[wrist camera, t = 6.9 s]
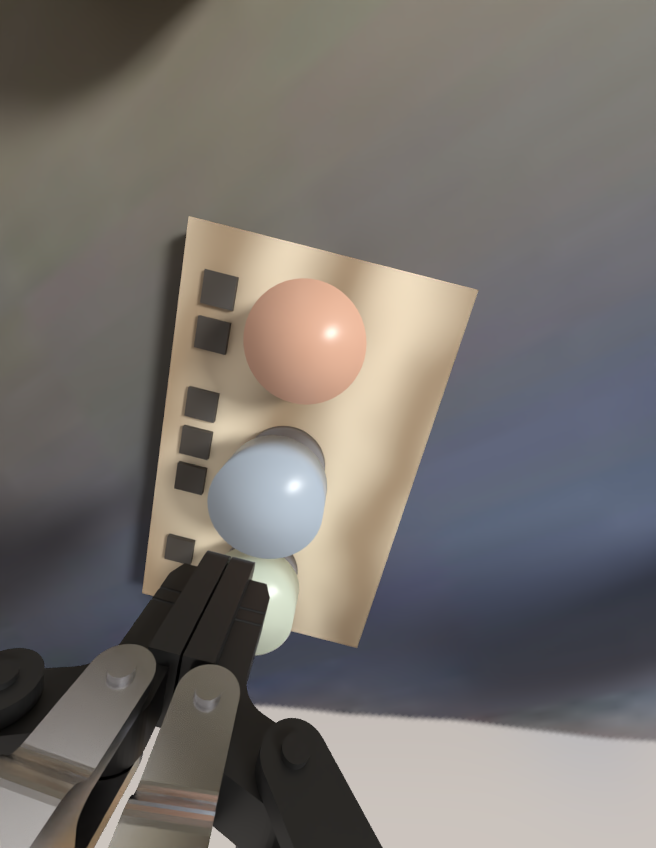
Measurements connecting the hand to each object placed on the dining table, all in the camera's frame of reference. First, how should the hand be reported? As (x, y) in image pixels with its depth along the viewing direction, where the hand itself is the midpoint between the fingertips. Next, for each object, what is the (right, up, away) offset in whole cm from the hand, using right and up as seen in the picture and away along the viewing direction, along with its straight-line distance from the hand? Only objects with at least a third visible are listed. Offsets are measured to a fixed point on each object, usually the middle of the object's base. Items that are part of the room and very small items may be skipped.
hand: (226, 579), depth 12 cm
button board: (+1, +3, +11) cm, 12 cm away
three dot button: (+1, +2, +7) cm, 7 cm away
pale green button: (-1, -4, +10) cm, 11 cm away
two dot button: (+2, +9, +6) cm, 11 cm away
